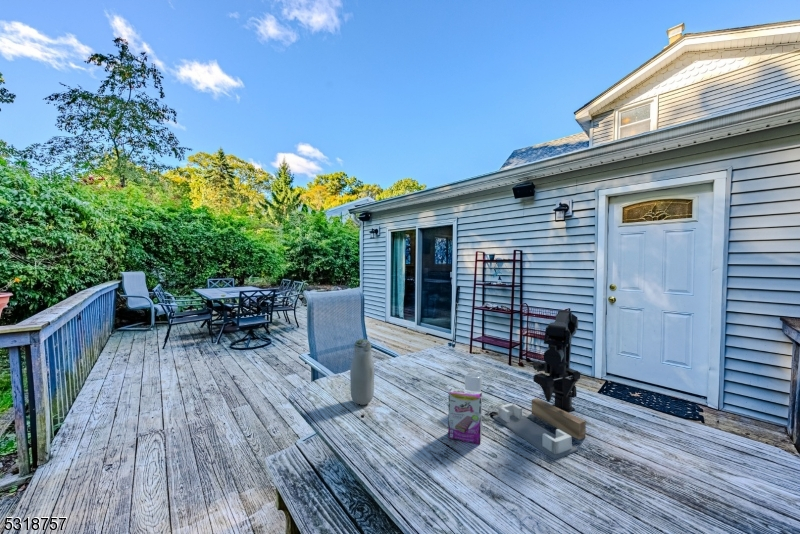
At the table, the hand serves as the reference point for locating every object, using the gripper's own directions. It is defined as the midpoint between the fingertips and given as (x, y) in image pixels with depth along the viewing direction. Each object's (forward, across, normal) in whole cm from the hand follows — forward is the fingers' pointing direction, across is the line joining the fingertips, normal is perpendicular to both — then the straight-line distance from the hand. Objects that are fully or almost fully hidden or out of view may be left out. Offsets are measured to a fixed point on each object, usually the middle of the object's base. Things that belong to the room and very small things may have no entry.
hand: (556, 399), depth 115 cm
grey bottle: (+10, +62, -47) cm, 78 cm away
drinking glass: (+10, +22, -22) cm, 33 cm away
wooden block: (+10, 0, 0) cm, 10 cm away
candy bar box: (+10, +37, -7) cm, 39 cm away
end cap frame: (+10, +13, 0) cm, 16 cm away
